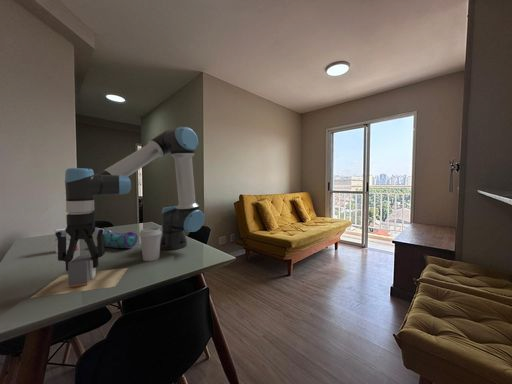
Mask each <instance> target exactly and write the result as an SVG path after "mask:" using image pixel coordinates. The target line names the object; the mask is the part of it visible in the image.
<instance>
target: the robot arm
mask: <svg viewBox="0 0 512 384" xmlns="http://www.w3.org/2000/svg"><path fill="white" fill-rule="evenodd" d="M198 146H199V139H198V135H197V134H196V132H195V131H194V130H193V129H192V128H190V127H188V126H179V127H177V128H172V129H167V130H165V131H162V132H160V133H159V134H158V135H157V136H155V137H154V138H151V139H150V140H149V141H147V144H146V145H145V146H143V147H141V148H139V149H138V150H136V151H134V152H132V153H130V154H129V155H127V156H126V157H123V159H121V160H119V161H116V163H114V164H112V165H110V166H108V167H107V168H106V169H104V170H102V171H100V172H98V173H96V174H95V173H94V170H93V169H92V168H83V167H81V168H80V167H70V168H67V169H66V170H65V175H64V176H65V178H64V185H65V212H66V213H67V214H66V216H65V218H66V228H65V229H66V230H64V231H59V232H57V233H56V237H57V239H58V253H57V260H58V261H59V262H64V263H65V271H66V272H68V263H69V262H71V261H72V260H74V259H75V258H74V256H75V252H76V250H75V249H76V245H77V246H78V242H79V240H84V242H85V244H86V245H87V249H88V252H89V255H91V257H92V259H90V279H91V278H93V277H94V276H95V275H96V270H97V269H96V268H98V267H99V258H102V257H103V256H104V255H105V246H104V232H105V231H106V228H99V227H97V225H96V220H95V219H96V216H95V212H94V211H95V196H103V195H104V196H105V195H107V196H108V195H112V196H113V195H127V194H129V193H130V191H131V190H132V181H131V179H130V178H129V177H130V176H131V175H134V173H136V172H137V171H139V170H140V169H141V168H143V167H145V166H147V165H148V164H149V163H150V162H153V161H154V160H155V159H157V158H162V157H163V156H165V155H168V154H170V156H171V157H173V159H174V165H175V166H174V168H175V178H176V189H177V199H178V205H174V206H167V207H165V206H164V207H163V208H162V210H161V231H162V234H161V241H160V250H164V251H171V250H179V249H182V248H185V247H187V246H188V239H187V236H186V234H185V232H188V233H191V232H192V233H194V232H197V231H199V230H200V229H201V228H202V227H203V225H204V222H205V214H204V213H203V211H201V210H200V205H199V204H198V202H196V190H195V189H196V187H195V178H194V167H193V157H194V156H195V150H196V149H197V147H198ZM67 233H68V234H69V235H70V236H71V238H70V244H69V247H68V251H66V235H67ZM94 233H95V234H96V242H97V243H95V241H94V236H93V234H94ZM96 245H97V247H96Z"/></svg>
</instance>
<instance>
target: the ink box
mask: <svg viewBox="0 0 512 384" xmlns="http://www.w3.org/2000/svg"><path fill="white" fill-rule="evenodd" d="M64 230H66V228H59V229H55V231H54V238H55V253H56V254H58V239H57V237H56V233H57V232H59V231H64ZM70 238H71V236H70V235H69V234H68V233H67V235H66V252H67V251H68V247H69V244H70ZM76 250H78V244H77V245H76V249H75V251H76Z"/></svg>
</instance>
